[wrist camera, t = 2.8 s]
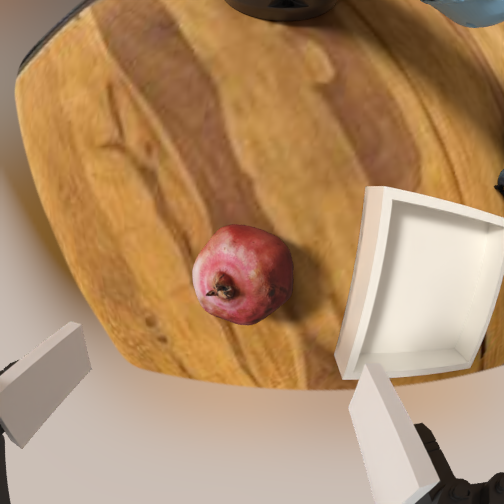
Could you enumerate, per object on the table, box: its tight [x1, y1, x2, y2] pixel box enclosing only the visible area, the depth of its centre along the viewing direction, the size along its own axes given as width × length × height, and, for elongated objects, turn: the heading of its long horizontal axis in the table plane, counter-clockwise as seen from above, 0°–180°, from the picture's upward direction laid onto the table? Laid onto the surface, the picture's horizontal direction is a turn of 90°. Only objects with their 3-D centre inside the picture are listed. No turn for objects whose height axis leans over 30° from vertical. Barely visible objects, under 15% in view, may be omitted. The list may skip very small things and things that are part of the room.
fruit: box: [193, 224, 294, 325], centre depth 24 cm, size 9×10×10 cm
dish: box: [334, 186, 504, 380], centre depth 26 cm, size 20×20×5 cm
